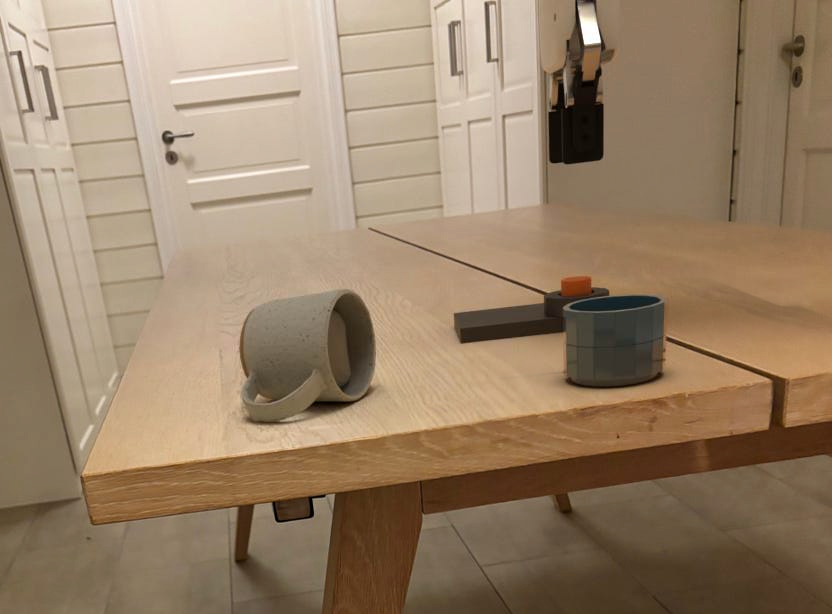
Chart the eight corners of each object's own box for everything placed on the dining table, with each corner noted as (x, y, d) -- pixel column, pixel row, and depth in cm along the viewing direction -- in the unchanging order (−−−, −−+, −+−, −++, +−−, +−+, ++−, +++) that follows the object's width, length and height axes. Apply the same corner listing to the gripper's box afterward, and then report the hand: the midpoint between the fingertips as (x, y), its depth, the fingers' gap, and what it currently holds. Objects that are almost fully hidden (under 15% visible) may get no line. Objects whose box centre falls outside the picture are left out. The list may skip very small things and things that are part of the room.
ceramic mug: (290, 386, 77) (275, 286, 74) (382, 386, 73) (371, 280, 70) (218, 425, 69) (197, 314, 65) (317, 426, 65) (300, 309, 62)
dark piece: (592, 312, 92) (592, 279, 91) (614, 329, 84) (614, 293, 82) (454, 328, 93) (452, 295, 92) (461, 346, 85) (459, 310, 83)
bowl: (650, 362, 71) (652, 290, 68) (675, 381, 65) (678, 304, 62) (557, 372, 71) (556, 301, 69) (573, 392, 65) (572, 316, 63)
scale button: (588, 293, 86) (588, 275, 85) (593, 297, 84) (593, 278, 83) (559, 296, 86) (558, 278, 86) (563, 300, 84) (563, 281, 83)
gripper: (652, -143, 64) (645, 157, 72) (600, -86, 80) (600, 156, 88) (539, -126, 65) (545, 169, 73) (509, -73, 80) (517, 166, 88)
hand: (575, 159), depth 80 cm, fingers open, 6 cm apart
